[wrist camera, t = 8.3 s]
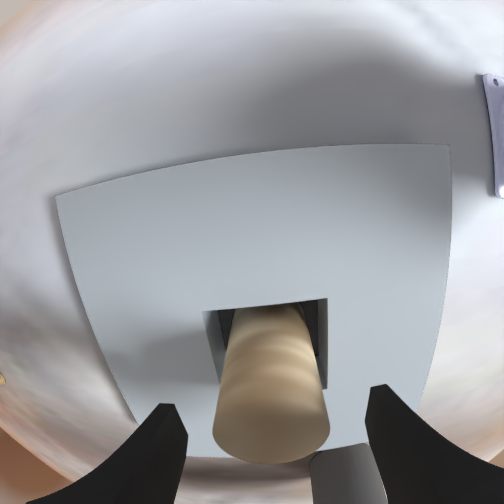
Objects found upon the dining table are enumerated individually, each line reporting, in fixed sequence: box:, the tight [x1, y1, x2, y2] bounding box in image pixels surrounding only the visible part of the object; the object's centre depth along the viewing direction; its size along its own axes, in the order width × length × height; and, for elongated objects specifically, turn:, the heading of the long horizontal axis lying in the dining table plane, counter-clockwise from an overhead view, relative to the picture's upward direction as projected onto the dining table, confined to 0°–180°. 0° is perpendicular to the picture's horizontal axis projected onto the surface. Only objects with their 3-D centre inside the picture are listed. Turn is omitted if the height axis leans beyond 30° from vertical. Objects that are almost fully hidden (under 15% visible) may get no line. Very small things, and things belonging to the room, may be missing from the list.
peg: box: [212, 302, 330, 464], centre depth 12 cm, size 4×4×8 cm
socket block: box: [55, 144, 452, 457], centre depth 15 cm, size 18×18×3 cm
